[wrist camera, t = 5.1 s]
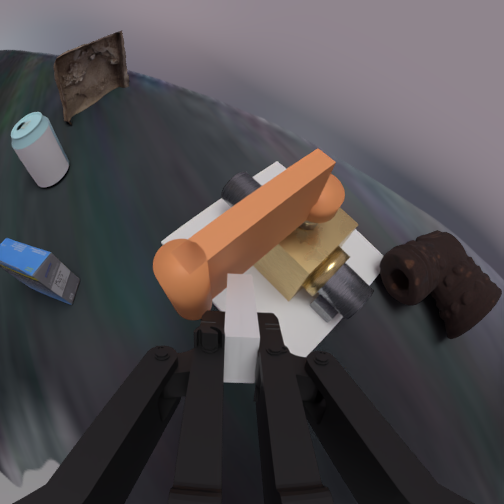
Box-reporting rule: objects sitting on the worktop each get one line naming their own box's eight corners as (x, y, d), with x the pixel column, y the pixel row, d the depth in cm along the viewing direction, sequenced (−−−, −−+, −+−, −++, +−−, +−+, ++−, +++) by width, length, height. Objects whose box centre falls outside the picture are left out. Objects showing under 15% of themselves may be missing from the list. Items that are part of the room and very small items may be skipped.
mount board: (385, 264, 38) (388, 261, 38) (283, 377, 31) (285, 377, 30) (276, 165, 44) (277, 161, 43) (162, 245, 37) (160, 241, 36)
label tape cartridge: (82, 278, 34) (34, 233, 22) (72, 306, 32) (19, 269, 21) (37, 263, 34) (-11, 219, 22) (27, 287, 32) (-25, 249, 21)
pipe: (397, 233, 30) (470, 340, 24) (452, 203, 35) (510, 283, 29) (363, 275, 38) (421, 364, 32) (422, 241, 43) (471, 312, 37)
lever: (311, 175, 27) (332, 120, 21) (346, 205, 26) (376, 154, 20) (159, 291, 21) (134, 249, 15) (198, 336, 20) (185, 313, 13)
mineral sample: (70, 128, 45) (46, 67, 32) (62, 122, 46) (40, 64, 33) (134, 85, 52) (124, 26, 38) (124, 80, 53) (113, 24, 39)
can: (37, 196, 38) (4, 148, 27) (37, 168, 41) (10, 122, 30) (71, 179, 40) (43, 127, 29) (69, 152, 43) (46, 102, 32)
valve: (363, 292, 35) (412, 254, 25) (324, 337, 32) (368, 313, 22) (255, 190, 40) (266, 128, 30) (210, 222, 38) (207, 161, 27)
